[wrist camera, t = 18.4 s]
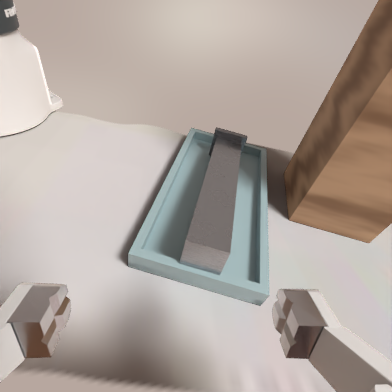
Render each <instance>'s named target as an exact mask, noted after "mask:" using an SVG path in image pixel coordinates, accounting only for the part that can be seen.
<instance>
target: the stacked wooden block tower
mask: <svg viewBox="0 0 392 392" xmlns="http://www.w3.org/2000/svg"><path fill="white" fill-rule="evenodd" d="M284 181H285V190H286V199H287V208H288V217H289V220H290V221H294V222H297V223H301V224H304V225H308V226H311V227H315V228H318V229H322V230H325V231H328V232H332V233H335V234H339V235H342V236H346V237H349V238H353V239H356V240H360V241H363V242H367V243H370V242H371V241H372V240H373V239H374V238H375V237H376V236H378V235H379V234H380V233H381V232H382V231H383V230H384V229H385V228H387V227H388V226H389V225H390V224H391V223H392V0H379V1H378V2H377V4H376V6H375V8H374V10H373V12H372V13H371V15H370V17H369V19H368V21H367V22H366V24H365V26H364V28H363V30H362V32H361V33H360V35H359V37H358V39H357V41H356V42H355V44H354V46H353V48H352V50H351V52H350V53H349V55H348V57H347V59H346V61H345V63H344V65H343V66H342V68H341V70H340V72H339V73H338V75H337V77H336V79H335V81H334V83H333V84H332V86H331V88H330V90H329V92H328V94H327V95H326V97H325V99H324V101H323V103H322V105H321V107H320V108H319V110H318V112H317V114H316V115H315V117H314V119H313V121H312V123H311V125H310V127H309V128H308V130H307V132H306V134H305V135H304V137H303V139H302V141H301V143H300V145H299V146H298V148H297V150H296V152H295V154H294V156H293V157H292V159H291V161H290V163H289V165H288V166H287V168H286V170H285V172H284Z"/></svg>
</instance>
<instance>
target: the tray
mask: <svg viewBox="0 0 392 392" xmlns="http://www.w3.org/2000/svg"><path fill="white" fill-rule="evenodd" d="M213 137H214V134H212V133H208V132H205V131H201V130H197V129H194V128H191V130H190V132H189V133H188V135H187V137H186V139H185V141H184V143H183V145H182V147H181V149H180V151H179V153H178V155H177V157H176V159H175V161H174V163H173V165H172V167H171V169H170V171H169V173H168V175H167V177H166V179H165V181H164V183H163V185H162V187H161V189H160V191H159V193H158V195H157V197H156V199H155V201H154V203H153V205H152V207H151V209H150V211H149V213H148V215H147V217H146V219H145V221H144V223H143V225H142V227H141V229H140V231H139V233H138V235H137V237H136V239H135V241H134V243H133V245H132V247H131V249H130V251H129V253H128V267H131V268H135V269H138V270H142V271H145V272H148V273H152V274H155V275H158V276H162V277H165V278H169V279H172V280H175V281H179V282H182V283H185V284H189V285H192V286H195V287H199V288H202V289H206V290H209V291H212V292H216V293H219V294H222V295H226V296H229V297H232V298H236V299H239V300H243V301H246V302H249V303H253V304H256V305H259V306H261V304H262V303H263V302H264V301H265V300H266V299H267V298H268V296H269V253H268V204H267V154H266V149H265V148H261V147H258V146H254V145H251V144H247V143H245V146H244V148H243V151H242V154H241V157H240V164H239V174H238V183H237V193H236V203H235V213H234V222H233V232H232V242H231V251H230V255H229V257H228V259H227V261H226V263H225V266H224V268H223V270H222V272H221V274H220V275H217V274H213V273H210V272H206V271H203V270H200V269H196V268H193V267H189V266H186V265H183V264H179V263H180V259H181V256H182V252H183V248H184V245H185V241H186V238H187V234H188V231H189V228H190V224H191V221H192V218H193V214H194V211H195V208H196V204H197V201H198V198H199V195H200V191H201V188H202V185H203V181H204V178H205V175H206V171H207V168H208V165H209V161H210V158H211V156H210V155H209V151H210V148H211V144H212V140H213Z"/></svg>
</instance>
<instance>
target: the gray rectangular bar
mask: <svg viewBox="0 0 392 392" xmlns="http://www.w3.org/2000/svg"><path fill="white" fill-rule="evenodd" d="M246 140H247V136H245V135H242V134H238V133H235V132H231V131H228V130H224V129H220V128H216V129H215V133H214V137H213V140H212V144H211V148H210V151H209V155H210V156H211V158H210V161H209V165H208V168H207V171H206V175H205V178H204V181H203V185H202V188H201V191H200V195H199V198H198V201H197V204H196V208H195V211H194V214H193V218H192V221H191V224H190V228H189V231H188V234H187V238H186V241H185V245H184V248H183V252H182V256H181V259H180V263H179V264H183V265H186V266H189V267H193V268H196V269H200V270H203V271H206V272H210V273H213V274H217V275H220V274H221V272H222V270H223V268H224V266H225V263H226V261H227V259H228V257H229V255H230V251H231V242H232V232H233V222H234V213H235V203H236V193H237V183H238V174H239V164H240V157H241V154H242V151H243V148H244V146H245V143H246Z"/></svg>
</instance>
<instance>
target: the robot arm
mask: <svg viewBox="0 0 392 392" xmlns="http://www.w3.org/2000/svg"><path fill="white" fill-rule="evenodd" d="M16 12H17V11H16V7H15V4H14V3H13V0H0V136H5V135H10V134H15V133H19V132H22V131H25V130H28V129H30V128H33V127H35V126H37V125H38V124H40V123H41V122H43V121H44V120H45V119H46V118H47V117H48V115H49V114H50V113H51V112H53V111H56V110H58V109H60V108H61V107H63V102H62V99H61V98H60V97H58V96H57V95H56V94H54V93H53V92H52V91H50V90H49V89H48V87H47V83H46V79H45V75H44V71H43V67H42V64H41V60H40V56H39V52H38V50H37V48H36V47H35V46H33V44H32V43H31V42H30V41H28V40H27V39H25V38H24V37H23V36H22V34H21V33H20V32H19V31H18V29H17V28H18V27H19V23H18V19H17V15H16ZM67 292H68V289H67V286H66V285H64V284H47V283H21V284H19V285H18V286H17V287H16V288H15V289H14V291H13V292H12V293H11V295H10V296H9V297H8V298H7V300H6V301H5V302H4V303H3V305H2V306H1V307H0V382H2V381H3V379H5V378H6V377H7V376H8V375H9V374H10V373H11V372H12V371H13V370H14V369H15V368H16V367H17V366H19V365H20V364H21V363H22V362H23V361H24V360H25V358H42V357H51V356H52V354H53V352H54V350H55V348H56V346H57V344H58V341H59V339H60V337H59V333H58V332H59V331H61V330H62V329H63V328H64V327H65V326H66V324H67V322H68V320H69V316H70V312H71V302H70V299H69V298H67V297H66V294H67ZM276 296H277V298H278V301H277V302H275V303H274V305H273V309H272V317H273V322H274V326H275V329H276V330H277V331H278V332H279V333H280V334H281V337H280V343H281V346H282V348H283V351H284V354H285V357H286V358H299V359H309V361H310V363H311V364H312V365H313V366H314V367H315V368H316V369H317V370H318V372H319V373H320V374H321V375H322V376H323V377H324V378H325V379H326V380H327V382H328V383H329V384H330V385H331V386H332V387H333V388H334V389H335V391H336V392H392V361H390V360H389V359H388V358H386V357H385V356H384V355H382V354H381V353H380V352H378V351H377V350H376V349H374V348H373V347H372V346H370V345H369V344H368V343H366V342H365V341H364V340H362V339H361V338H360V337H358V336H357V335H356V334H354V333H353V332H352V331H351V330H349V329H348V328H347V327H342V326H341V324H340V323H339V321H338V319H337V318H336V316H335V315H334V313H333V311H332V310H331V308H330V306H329V305H328V303H327V302H326V300H325V298H324V297H323V295H322V294H321V292H320V291H319V290H318V289H279V290H278V292H277V295H276Z"/></svg>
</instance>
